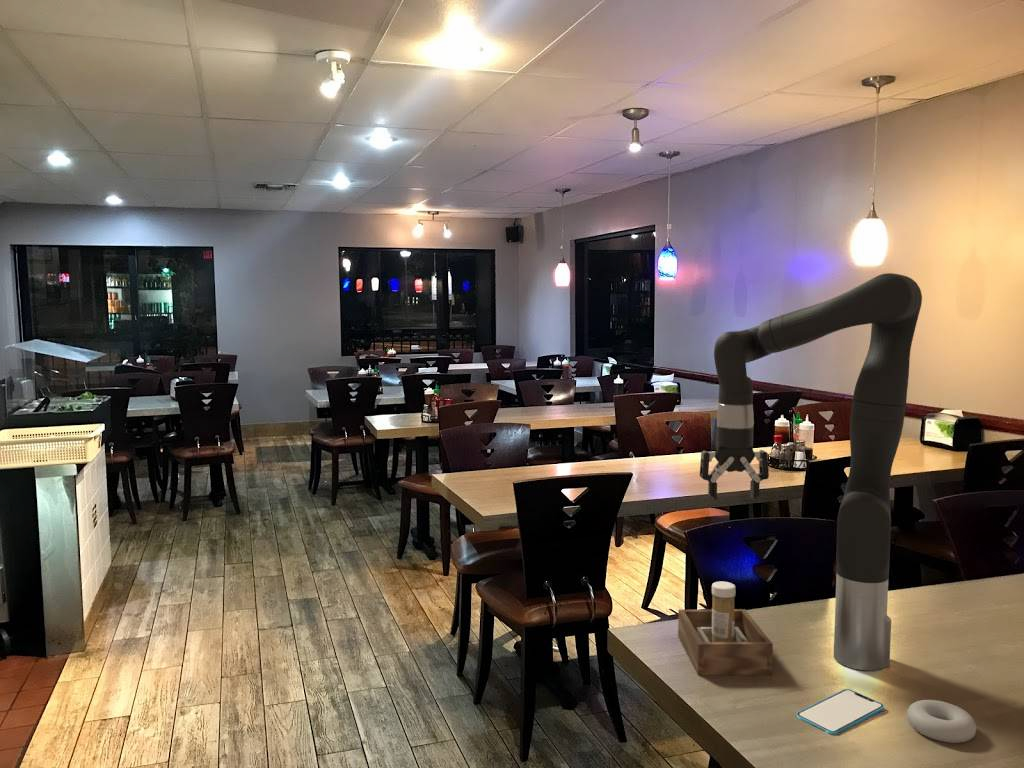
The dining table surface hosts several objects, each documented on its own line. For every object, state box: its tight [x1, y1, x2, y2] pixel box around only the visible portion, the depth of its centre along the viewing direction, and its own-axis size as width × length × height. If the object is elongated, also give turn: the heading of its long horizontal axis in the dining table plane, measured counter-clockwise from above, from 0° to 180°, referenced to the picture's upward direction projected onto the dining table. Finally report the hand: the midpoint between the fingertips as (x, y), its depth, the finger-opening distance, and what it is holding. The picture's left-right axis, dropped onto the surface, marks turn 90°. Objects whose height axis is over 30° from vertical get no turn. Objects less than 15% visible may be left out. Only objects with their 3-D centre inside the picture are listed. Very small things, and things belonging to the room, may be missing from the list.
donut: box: [906, 699, 977, 744], centre depth 126 cm, size 10×4×10 cm
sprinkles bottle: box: [711, 581, 736, 642], centre depth 153 cm, size 5×5×13 cm
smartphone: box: [796, 688, 885, 736], centre depth 132 cm, size 8×1×15 cm
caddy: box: [677, 608, 774, 676], centre depth 154 cm, size 14×17×6 cm
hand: (733, 498), depth 166 cm, fingers open, 8 cm apart
